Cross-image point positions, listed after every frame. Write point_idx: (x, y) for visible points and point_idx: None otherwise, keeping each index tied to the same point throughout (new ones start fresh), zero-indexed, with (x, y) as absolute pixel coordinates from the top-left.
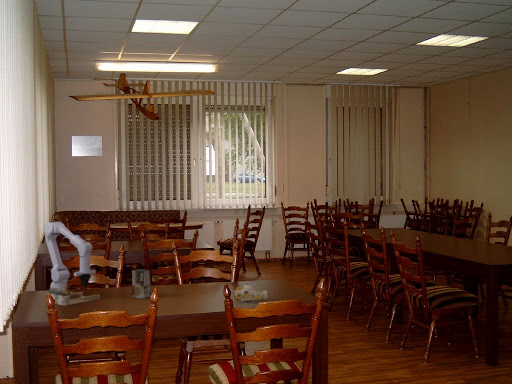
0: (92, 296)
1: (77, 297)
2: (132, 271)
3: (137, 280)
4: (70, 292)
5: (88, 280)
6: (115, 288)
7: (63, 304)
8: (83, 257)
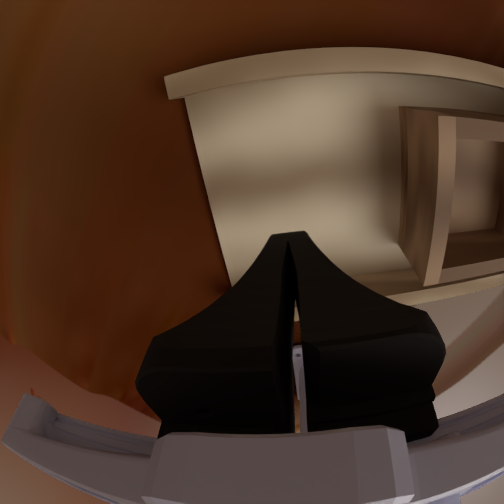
0: (286, 52)
1: (454, 112)
2: None
3: None
4: (442, 258)
5: (238, 288)
6: (23, 337)
7: None
8: None
